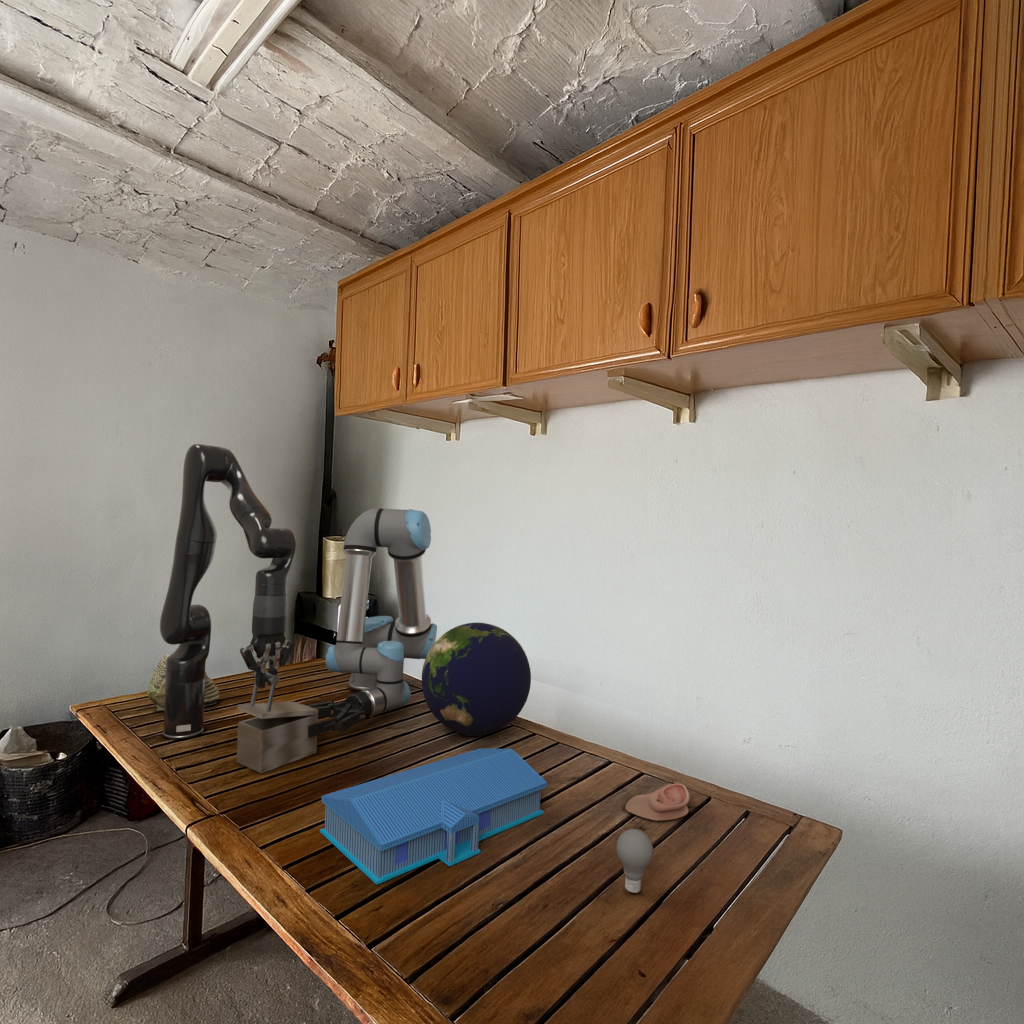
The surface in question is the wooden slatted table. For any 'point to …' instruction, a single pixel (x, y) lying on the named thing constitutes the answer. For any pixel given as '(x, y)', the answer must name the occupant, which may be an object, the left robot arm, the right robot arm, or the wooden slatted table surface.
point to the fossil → (158, 687)
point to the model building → (431, 811)
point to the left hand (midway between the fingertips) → (266, 686)
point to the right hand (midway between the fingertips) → (295, 726)
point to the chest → (274, 741)
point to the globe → (476, 679)
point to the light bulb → (634, 857)
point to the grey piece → (274, 704)
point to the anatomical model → (661, 803)
